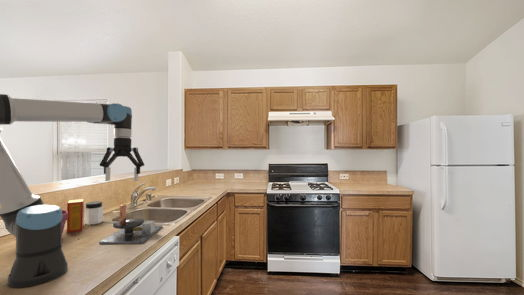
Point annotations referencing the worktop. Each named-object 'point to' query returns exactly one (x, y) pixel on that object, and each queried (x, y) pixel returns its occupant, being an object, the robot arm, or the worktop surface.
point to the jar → (93, 212)
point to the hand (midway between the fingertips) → (122, 180)
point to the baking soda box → (75, 215)
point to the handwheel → (128, 222)
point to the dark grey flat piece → (133, 235)
